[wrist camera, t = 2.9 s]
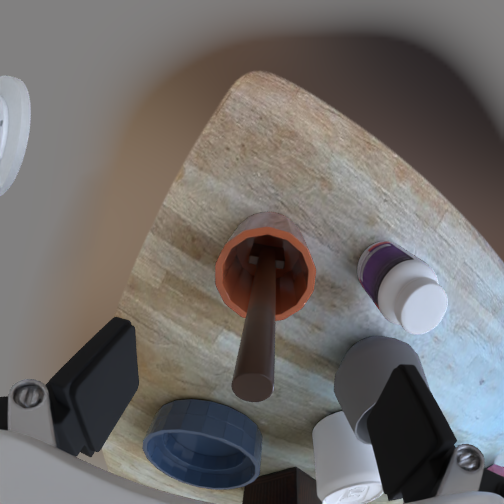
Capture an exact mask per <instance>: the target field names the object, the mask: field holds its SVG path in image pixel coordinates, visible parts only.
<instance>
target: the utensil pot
mask: <svg viewBox="0 0 504 504" xmlns="http://www.w3.org/2000/svg"><path fill="white" fill-rule="evenodd" d="M253 243H256V244H262V245H268V246H274V247H280V248H284V255H285V266H284V269H279V268H276V308H275V321H278V320H283V319H286V318H287V317H289V316H291V315H292V314H294V313H296V312H297V311H299V310H300V309H302V308H303V306H304V305H305V303H306V302H307V300H308V299H309V297H310V296H311V294H312V293H313V290H314V284H315V275H316V268H315V265H314V262H313V260H312V257H311V254H310V252H309V249H308V247H307V245H306V242H305V240H304V238H303V235H302V233H301V231H300V229H299V227H298V226H297V225H296V224H295V223H294V222H293V221H292V220H291V219H289V218H288V217H286V216H284V215H282V214H279V213H275V212H260V213H257V214H253V215H252V216H250V217H248V218H247V219H245V220H244V221H243V222H242V223H240V224H239V225H238V227H237V228H236V230H235V231H234V233H233V234H232V235H231V237H230V238H229V240H228V241H227V242H226V244H225V246H224V247H223V249H222V251H221V253H220V255H219V257H218V259H217V261H216V264H215V284H216V287H217V289H218V291H219V293H220V295H221V297H222V299H223V301H224V303H225V304H226V305H227V306H228V307H230V308H231V309H232V310H233V311H235V312H236V313H237V314H238V315H240V316H241V317H243V318H246V314H247V309H248V304H249V300H250V295H251V290H252V285H253V280H254V276H255V271H256V266H257V265H255V264H249V263H248V260H249V254H250V251H251V248H252V245H253Z"/></svg>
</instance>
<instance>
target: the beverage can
mask: <svg viewBox="0 0 504 504" xmlns="http://www.w3.org/2000/svg"><path fill="white" fill-rule="evenodd" d="M312 437H313V448H314V459H315V472H316V485H317V496H318V498H319V499H320V500H321V501H322V504H366V503H369V502H371V501H373V500H375V499H376V498H378V497H379V496H381V495H382V494H383V493H384V492H383V488H382V484H381V480H380V475H379V471H378V467H377V463H376V459H375V455H374V451H373V447H372V445H370V444H364V443H362V442H361V441H359V440H357V438H356V436H355V434H354V432H353V430H352V428H351V426H350V424H349V422H348V420H347V418H346V416H345V414H344V412H343V411H341V412H337V413H334V414H331V415H329V416H327V417H325V418H324V419H322V420H321V421H320V422H318V423H317V425H316V426H315V427H314V429H313V432H312Z"/></svg>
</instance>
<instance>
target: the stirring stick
mask: <svg viewBox="0 0 504 504" xmlns="http://www.w3.org/2000/svg"><path fill="white" fill-rule="evenodd" d="M248 263H249V264H255V265H257V266H256V271H255V276H254V280H253V285H252V290H251V295H250V300H249V304H248V309H247V314H246V319H245V323H244V328H243V333H242V338H241V342H240V347H239V352H238V356H237V361H236V366H235V370H234V375H233V380H232V390H233V392H234V393H235V395H236V396H237V397H239V398H240V399H242V400H245V401H249V402H259V401H263V400H265V399H267V398H269V397H270V396H271V394H272V393H273V391H274V367H275V308H276V268H279V269H284V266H285V255H284V248H280V247H274V246H268V245H262V244H256V243H253V245H252V248H251V251H250V254H249V260H248Z"/></svg>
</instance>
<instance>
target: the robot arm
mask: <svg viewBox="0 0 504 504" xmlns="http://www.w3.org/2000/svg"><path fill="white" fill-rule="evenodd" d="M8 128H9V112H8V106H7V103H6V101H5V99H4V98H3V97H2V96H1V95H0V161H1V159H2V156H3V153H4V150H5V146H6V142H7V136H8ZM138 386H139V376H138V365H137V352H136V336H135V327H134V326H132V325H131V322H130V321H129V320H125V319H122V318H119V317H114V318H113V319H112V320H111V321H109V322H108V323H107V324H106V325H105V326H104V327H103V328H102V329H101V330H100V331H99V332H98V333H97V334H96V335H95V336H94V337H93V338H92V339H91V340H90V341H88V342H87V343H86V344H85V346H83V347H82V348H81V349H80V350H79V351H78V352H77V353H76V354H75V355H74V356H73V357H72V358H71V359H70V360H69V361H68V362H67V363H66V364H65V365H64V366H63V367H62V368H61V369H60V370H59V371H58V372H57V373H56V374H55V375H54V376H53V377H52V378H51V379H50V381H49V382H48V383H47V384H46V385H44V384H43V383H41V382H40V381H37V380H34V379H25V380H21V381H19V382H17V383H15V384H14V385H13V386H12V387H11V389H10V391H9V395H8V397H0V504H214V503H209V502H204V501H199V500H195V499H191V498H186V497H182V496H179V495H175V494H171V493H168V492H164V491H161V490H158V489H154V488H151V487H148V486H145V485H142V484H139V483H136V482H134V481H131V480H128V479H126V478H123V477H121V476H118V475H115V474H113V473H110V472H108V471H105V470H103V469H101V468H98V467H96V466H94V465H91V464H89V463H87V462H85V461H83V460H81V459H79V458H77V457H76V456H77V455H78V454H79V452H81V453H83V454H85V455H87V456H89V457H92V455H93V454H94V452H95V451H96V452H99V451H100V450H101V448H102V447H103V445H104V443H105V442H106V440H107V438H108V437H109V435H110V433H111V432H112V430H113V428H114V427H115V425H116V423H117V422H118V420H119V419H120V417H121V415H122V414H123V412H124V410H125V409H126V407H127V406H128V404H129V402H130V401H131V399H132V397H133V396H134V394H135V393H136V391H137V389H138ZM367 429H368V432H369V436H370V440H371V444H372V447H373V451H374V455H375V459H376V463H377V467H378V471H379V475H380V480H381V484H382V488H383V492H384V493H385V494H387V496H388V500H389V501H390V500H396V499H401V498H403V500H404V503H403V504H504V477H503V476H501V475H499V474H496V473H494V472H492V471H490V470H487V469H485V468H484V465H485V459H484V456H483V454H482V453H481V451H480V450H479V449H478V448H476V447H475V446H473V445H469V444H462V445H459V446H458V447H456V448H455V446H454V444H455V442H456V441H457V440H456V438H455V436H454V434H453V432H452V430H451V428H450V426H449V424H448V422H447V420H446V419H445V417H444V415H443V413H442V411H441V409H440V408H439V406H438V404H437V402H436V400H435V399H434V397H433V395H432V393H431V392H430V390H429V388H428V387H427V385H426V383H425V381H424V380H423V378H422V376H421V375H420V373H419V371H418V370H417V368H416V366H415V365H409V364H400V365H399V366H398V367H397V368H394V369H393V371H392V373H391V375H390V377H389V379H388V381H387V383H386V385H385V387H384V389H383V391H382V393H381V395H380V397H379V398H378V400H377V402H376V404H375V406H374V408H373V409H372V411H371V413H370V415H369V416H368V419H367Z"/></svg>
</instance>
